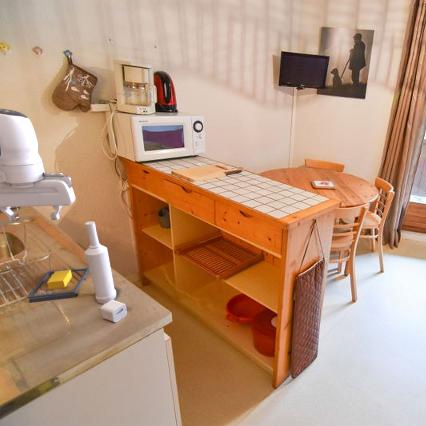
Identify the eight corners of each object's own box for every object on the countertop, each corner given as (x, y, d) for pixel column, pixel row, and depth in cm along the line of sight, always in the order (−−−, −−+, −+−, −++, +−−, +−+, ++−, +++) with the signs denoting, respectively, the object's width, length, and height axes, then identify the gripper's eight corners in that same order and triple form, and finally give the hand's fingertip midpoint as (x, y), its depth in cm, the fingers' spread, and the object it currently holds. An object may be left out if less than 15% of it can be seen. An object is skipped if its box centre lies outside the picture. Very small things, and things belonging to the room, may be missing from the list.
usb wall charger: (114, 323, 86) (112, 311, 84) (95, 316, 88) (92, 304, 86) (127, 314, 89) (125, 302, 88) (108, 307, 91) (106, 296, 90)
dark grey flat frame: (29, 302, 90) (27, 297, 90) (49, 276, 102) (47, 271, 101) (76, 297, 94) (74, 291, 93) (90, 272, 105) (89, 267, 105)
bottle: (118, 291, 98) (103, 218, 88) (115, 302, 93) (99, 226, 84) (98, 294, 96) (81, 219, 86) (94, 305, 92) (75, 227, 82)
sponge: (66, 290, 96) (63, 280, 94) (49, 292, 95) (46, 282, 93) (73, 279, 101) (70, 269, 100) (57, 280, 100) (55, 271, 98)
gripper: (73, 169, 91) (82, 214, 96) (-19, 169, 84) (-4, 216, 89) (65, 176, 85) (75, 222, 90) (-34, 175, 79) (-17, 226, 84)
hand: (35, 219), depth 90 cm, fingers open, 8 cm apart
